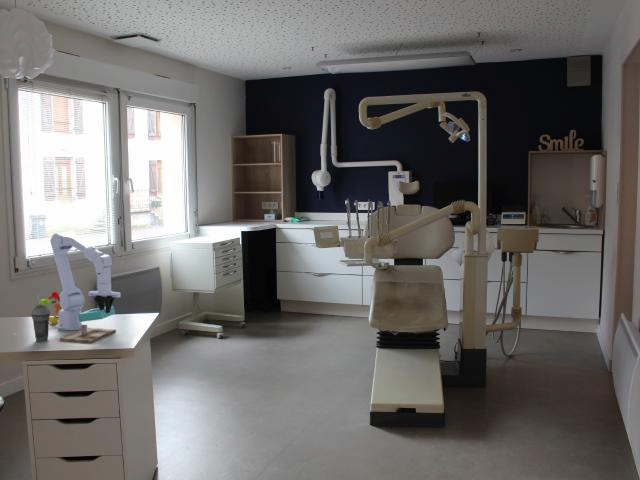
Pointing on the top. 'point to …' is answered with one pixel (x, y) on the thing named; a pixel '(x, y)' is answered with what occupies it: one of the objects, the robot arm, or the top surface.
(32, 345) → the top surface
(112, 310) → the loop
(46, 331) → the beverage cup
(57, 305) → the educational toy
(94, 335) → the peg board
